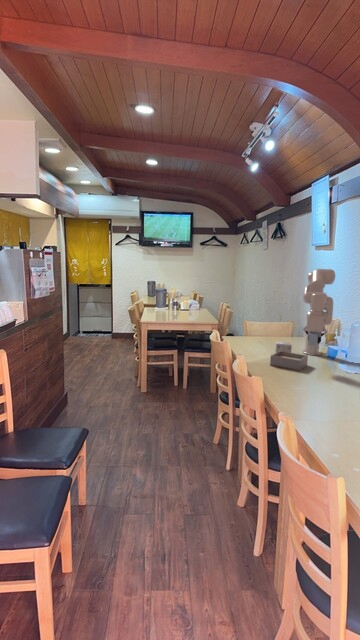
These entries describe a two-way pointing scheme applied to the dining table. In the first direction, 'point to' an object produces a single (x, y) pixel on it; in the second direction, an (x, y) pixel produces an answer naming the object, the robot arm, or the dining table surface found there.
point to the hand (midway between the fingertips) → (314, 342)
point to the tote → (289, 360)
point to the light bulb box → (283, 347)
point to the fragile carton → (313, 338)
